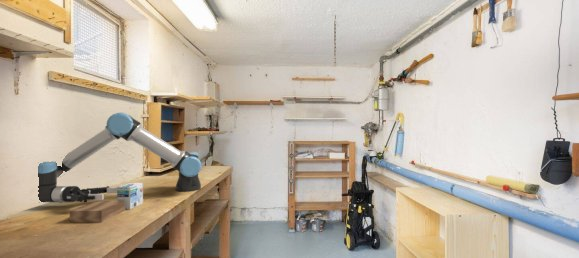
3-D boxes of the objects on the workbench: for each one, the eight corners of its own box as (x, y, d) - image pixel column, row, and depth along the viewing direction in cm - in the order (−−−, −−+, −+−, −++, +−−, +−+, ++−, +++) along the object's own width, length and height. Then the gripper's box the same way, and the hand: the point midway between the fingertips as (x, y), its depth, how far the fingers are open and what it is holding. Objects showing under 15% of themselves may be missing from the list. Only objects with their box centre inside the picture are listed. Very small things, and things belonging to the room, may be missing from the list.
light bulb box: (130, 209, 123) (130, 186, 123) (116, 209, 123) (116, 186, 123) (143, 203, 134) (143, 182, 134) (130, 203, 134) (130, 182, 134)
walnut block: (124, 211, 121) (124, 200, 121) (101, 223, 106) (101, 210, 106) (96, 211, 121) (96, 200, 121) (69, 223, 106) (69, 210, 106)
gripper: (85, 195, 139) (126, 194, 140) (44, 209, 114) (94, 208, 115) (85, 181, 139) (126, 180, 140) (44, 192, 114) (94, 191, 115)
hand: (112, 193), depth 128 cm, fingers open, 13 cm apart
